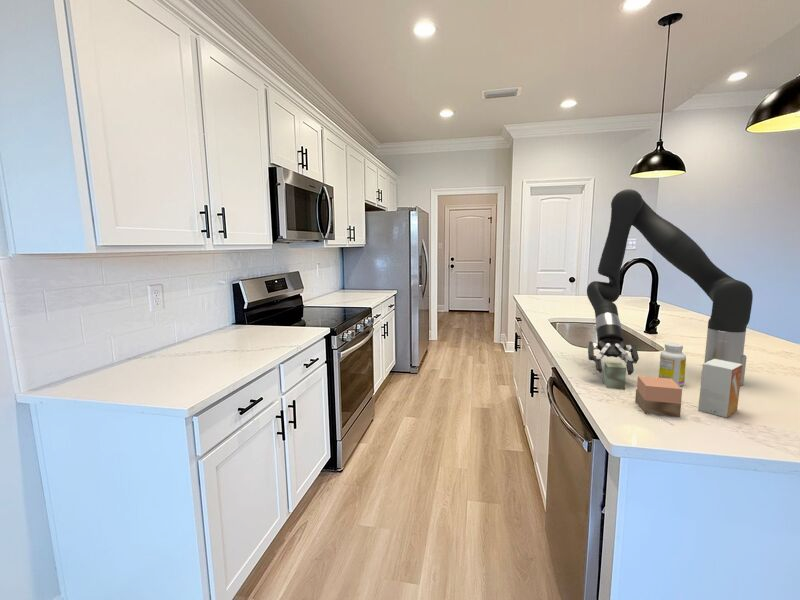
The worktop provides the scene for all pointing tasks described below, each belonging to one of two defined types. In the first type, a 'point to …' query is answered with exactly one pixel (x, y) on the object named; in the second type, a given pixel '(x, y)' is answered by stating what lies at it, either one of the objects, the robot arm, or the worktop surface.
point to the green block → (614, 375)
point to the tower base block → (657, 407)
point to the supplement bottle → (673, 363)
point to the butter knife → (653, 415)
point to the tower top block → (659, 389)
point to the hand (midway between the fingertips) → (615, 372)
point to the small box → (720, 387)
